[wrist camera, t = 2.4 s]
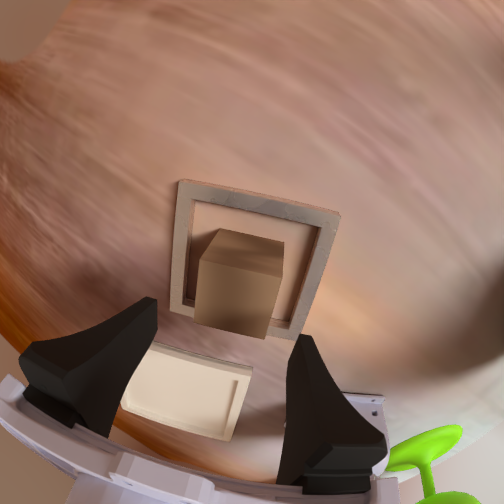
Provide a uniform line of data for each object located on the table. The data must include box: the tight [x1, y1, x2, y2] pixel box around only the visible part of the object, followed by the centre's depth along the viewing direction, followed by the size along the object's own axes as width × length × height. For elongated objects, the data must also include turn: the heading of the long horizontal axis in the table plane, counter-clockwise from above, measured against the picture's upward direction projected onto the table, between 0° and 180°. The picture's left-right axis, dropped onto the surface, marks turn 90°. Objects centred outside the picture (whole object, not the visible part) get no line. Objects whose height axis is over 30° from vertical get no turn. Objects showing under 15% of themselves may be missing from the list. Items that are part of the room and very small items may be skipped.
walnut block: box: [193, 228, 284, 339], centre depth 18 cm, size 4×4×5 cm
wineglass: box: [385, 425, 481, 504], centre depth 23 cm, size 16×16×18 cm
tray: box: [120, 341, 253, 442], centre depth 28 cm, size 15×15×1 cm
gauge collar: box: [170, 179, 341, 341], centre depth 20 cm, size 10×10×1 cm
